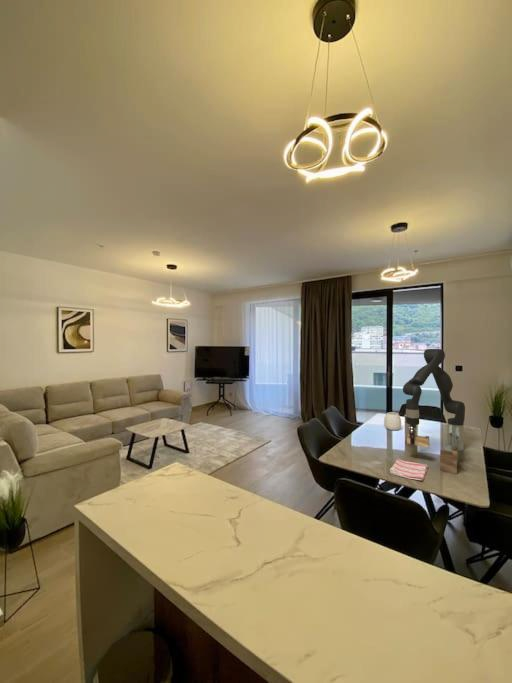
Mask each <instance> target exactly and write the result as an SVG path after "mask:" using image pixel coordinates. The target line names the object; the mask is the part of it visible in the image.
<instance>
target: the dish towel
mask: <svg viewBox="0 0 512 683" xmlns="http://www.w3.org/2000/svg"><path fill="white" fill-rule="evenodd" d="M428 468H429V465H428V464H424V463H419V462H412V461H406V460H402V459H400V458H398V459H396V460H395V462H394V463H393V465H392V467H390V468H389V473H390V475H393V476H396V477H401V478H405V479H409V480H414V481H418V482H419V481H420V482H424V480H425V478H426V475H427V472H428Z"/></svg>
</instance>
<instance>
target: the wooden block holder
mask: <svg viewBox="0 0 512 683" xmlns="http://www.w3.org/2000/svg"><path fill="white" fill-rule="evenodd" d="M452 449H453V450H452V451H447V450H446V449H440V454H439V456H440V457H439V460H440V462H439V468H440V469H439V470H440V472H444V473H447V474H448V473H449V474H452V475H453V474H454V475H458V462H457V447H456V446H452Z"/></svg>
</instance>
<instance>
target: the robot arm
mask: <svg viewBox="0 0 512 683" xmlns="http://www.w3.org/2000/svg"><path fill="white" fill-rule="evenodd" d="M423 358H424V361H425V363H426V364H425V365H424V366H422V367H421V368H420V369H418V370H417V371H416V372H415V374H414V375H413V377H412V378H410V379H409V380H408V381H407V382H406V383H404V385H403V387H402V392H403V394H404V395H407V396H412V397H411V398H408V399H406V401H405V423H406V424H408V425H409V426H408V434H410V444H409V445H411V444H412V445H411V446H415V445H414V444H415V443H414V439H415V435H416V434H417V426H419V425H420V411H419V410H420V408H419V403H420V400H421V399H420V398H421V395H422V391H423V390H422V387H421V386H423V385H424V384H425V383H426V381H427V379H429V376H430V375H431V374H432V376H433V378H434V382H435V384H436V387H437V389H438V392H439V393H440V396H441V400H442V403H443V406H444V410H445V411H446V412H447V413H449V414H453V415H454V417H449V418H447V445H450V444H449V425H452V446H456V442H455V431H456V430H455V429H456V427H457V428H459V438H460V439H459V446H458V452H459V451H460V452H461V451H464V450H465V449H464V448H465V442H464V440H465V432H464V429H465V428H464V425H465V418H466V417H465V415H466V406H465V403H464V402H462V401H459V400H454V399H452V397H451V393H452V390H453V388H454V386H453V381H452V379H451V377H450V375H449V373H448V372H446V371H445V370H444V369H443V368H442V367H441V366H440V365H441V364H442V363H443V362H444V361H445V358H446V353H445V351H444V350H443V349H441V348H427V349H425V350H424V351H423ZM411 435H413V436H411ZM452 451H453V449H452Z"/></svg>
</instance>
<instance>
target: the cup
mask: <svg viewBox="0 0 512 683" xmlns="http://www.w3.org/2000/svg"><path fill="white" fill-rule="evenodd" d="M383 425H384V427H385V428H386V429H387V430H390V431H398V430H400V429H401V428H402V418H401V416H400V414H399V413H398V412H393V411H391V412H386V414H385V416H384V419H383Z"/></svg>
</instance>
